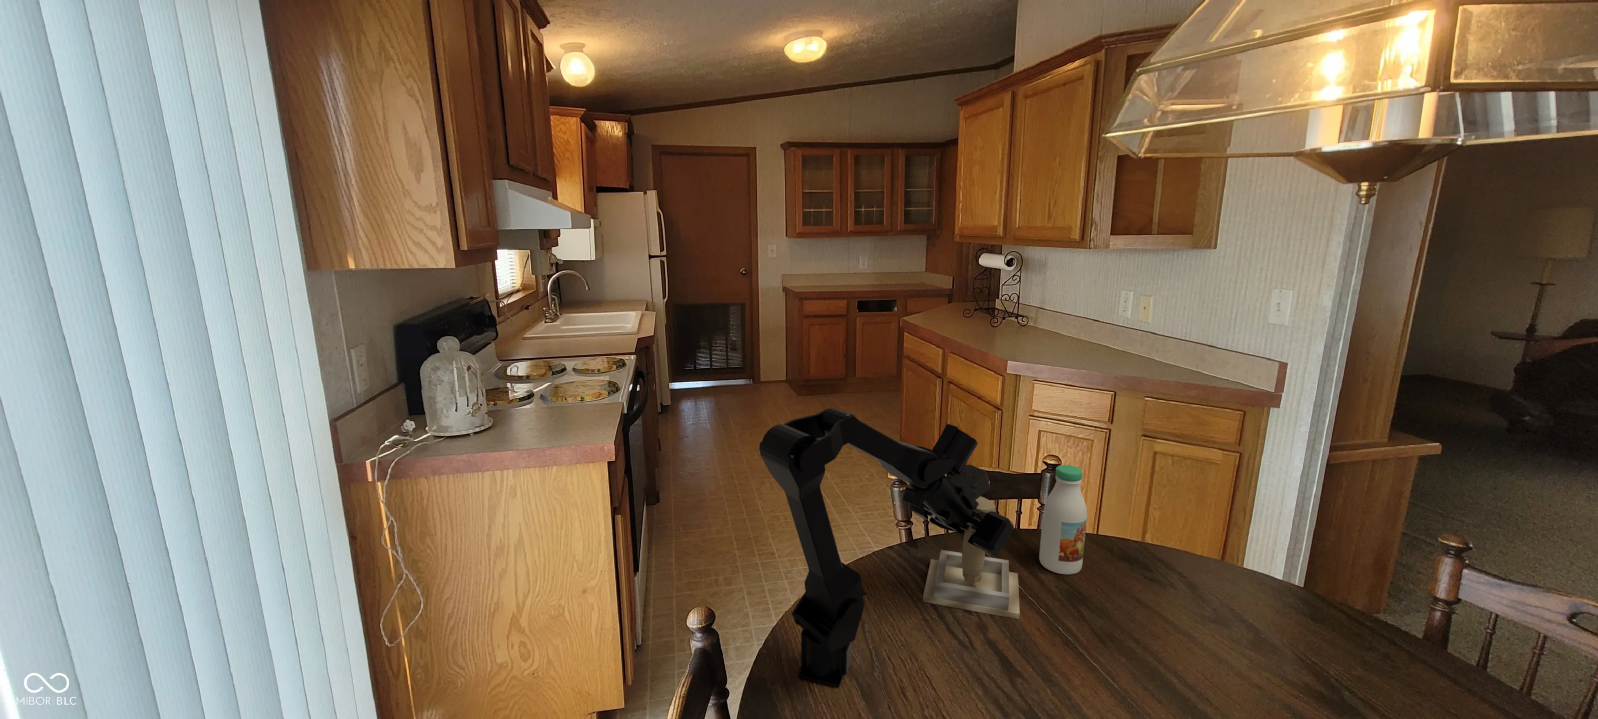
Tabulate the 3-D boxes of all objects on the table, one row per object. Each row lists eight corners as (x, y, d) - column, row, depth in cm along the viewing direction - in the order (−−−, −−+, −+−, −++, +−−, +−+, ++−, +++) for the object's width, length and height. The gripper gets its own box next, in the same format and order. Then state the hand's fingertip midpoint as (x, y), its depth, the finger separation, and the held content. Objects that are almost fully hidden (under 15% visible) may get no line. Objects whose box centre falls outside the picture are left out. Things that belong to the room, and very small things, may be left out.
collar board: (922, 601, 107) (923, 583, 107) (931, 563, 120) (931, 547, 119) (1019, 619, 103) (1020, 600, 102) (1017, 578, 115) (1018, 561, 114)
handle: (974, 591, 107) (980, 511, 104) (949, 573, 112) (954, 497, 109) (994, 584, 109) (1001, 506, 106) (968, 567, 114) (973, 492, 111)
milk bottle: (1040, 572, 117) (1049, 474, 113) (1037, 552, 124) (1045, 459, 120) (1084, 578, 115) (1095, 478, 110) (1078, 557, 122) (1088, 463, 118)
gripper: (1011, 473, 96) (1047, 521, 104) (925, 440, 111) (963, 484, 119) (974, 533, 93) (1014, 577, 101) (891, 490, 108) (932, 532, 117)
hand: (979, 538), depth 110 cm, fingers closed on handle, 5 cm apart
